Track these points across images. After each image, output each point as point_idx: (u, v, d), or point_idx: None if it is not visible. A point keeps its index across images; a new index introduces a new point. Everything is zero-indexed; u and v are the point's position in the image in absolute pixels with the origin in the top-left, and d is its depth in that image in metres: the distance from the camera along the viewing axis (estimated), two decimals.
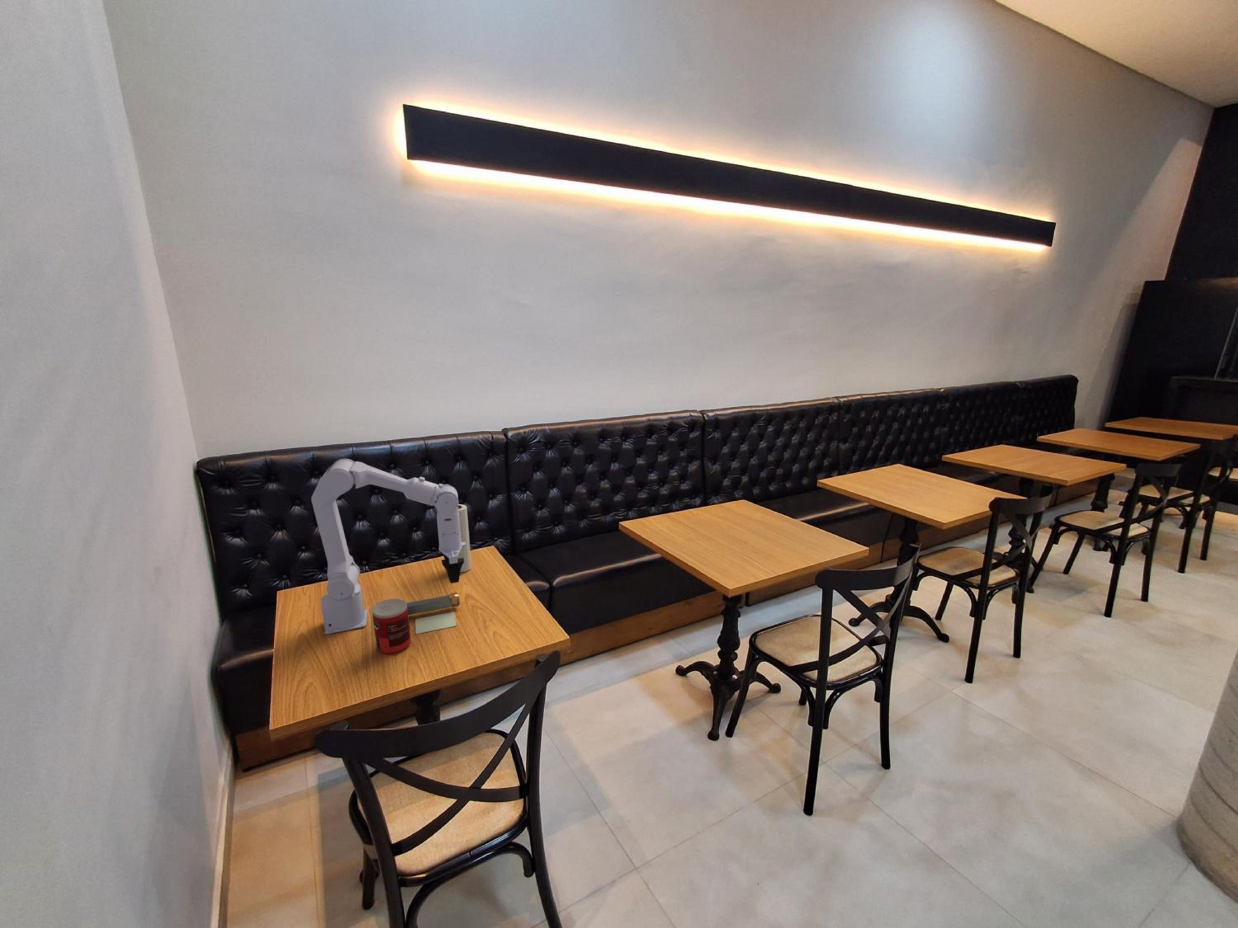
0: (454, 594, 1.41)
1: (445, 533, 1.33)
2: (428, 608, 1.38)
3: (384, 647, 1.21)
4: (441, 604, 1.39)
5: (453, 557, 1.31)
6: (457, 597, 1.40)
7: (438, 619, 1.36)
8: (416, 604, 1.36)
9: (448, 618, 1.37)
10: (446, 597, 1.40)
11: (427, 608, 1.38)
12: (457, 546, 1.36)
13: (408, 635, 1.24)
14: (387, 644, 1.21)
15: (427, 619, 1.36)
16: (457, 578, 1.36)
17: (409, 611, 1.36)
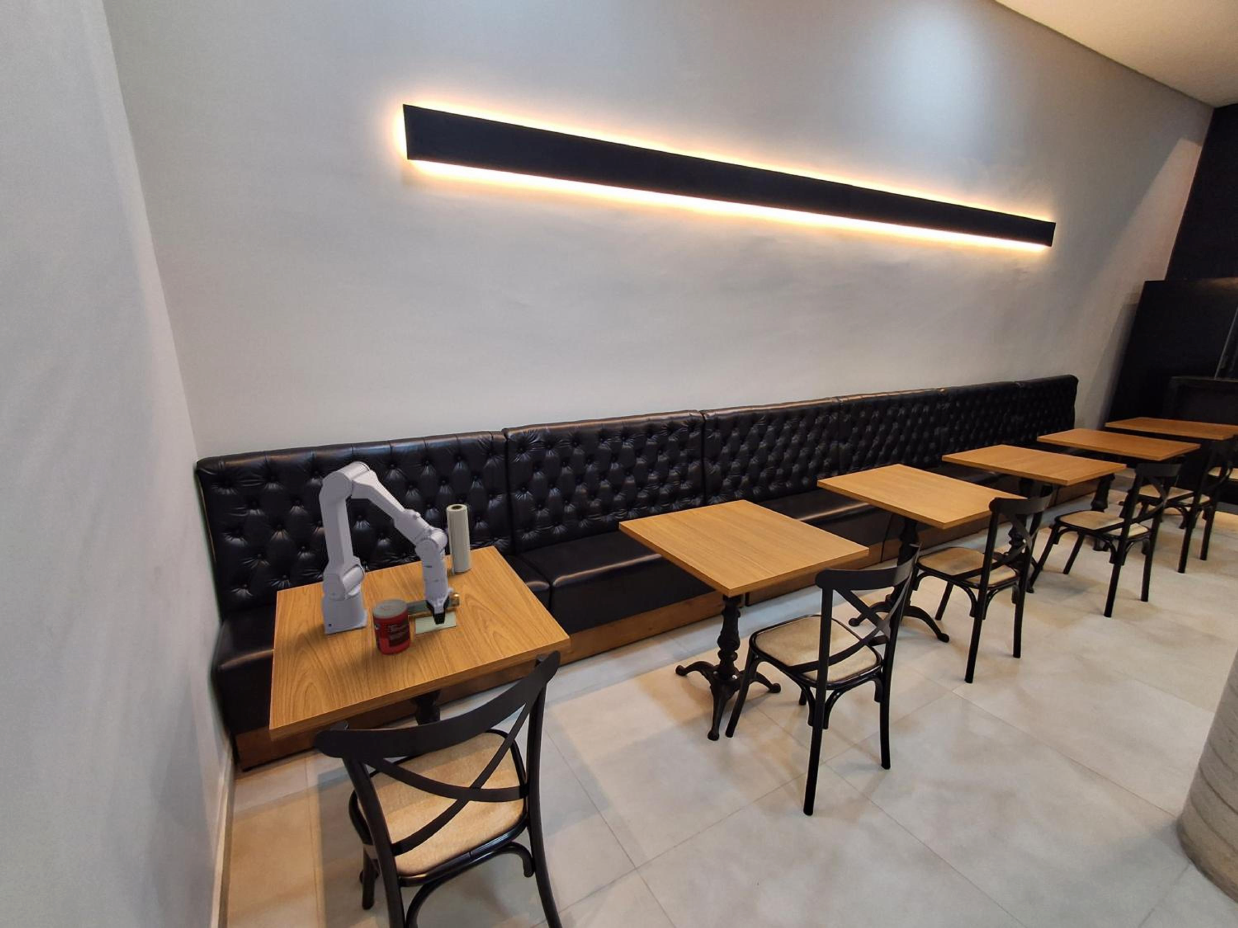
0: (454, 594, 1.41)
1: (426, 580, 1.26)
2: None
3: (384, 647, 1.21)
4: None
5: (438, 606, 1.24)
6: (457, 597, 1.40)
7: None
8: (416, 604, 1.36)
9: (448, 618, 1.37)
10: None
11: (427, 608, 1.38)
12: (443, 593, 1.28)
13: (408, 635, 1.24)
14: (387, 644, 1.21)
15: (427, 619, 1.36)
16: (442, 619, 1.32)
17: (409, 611, 1.36)
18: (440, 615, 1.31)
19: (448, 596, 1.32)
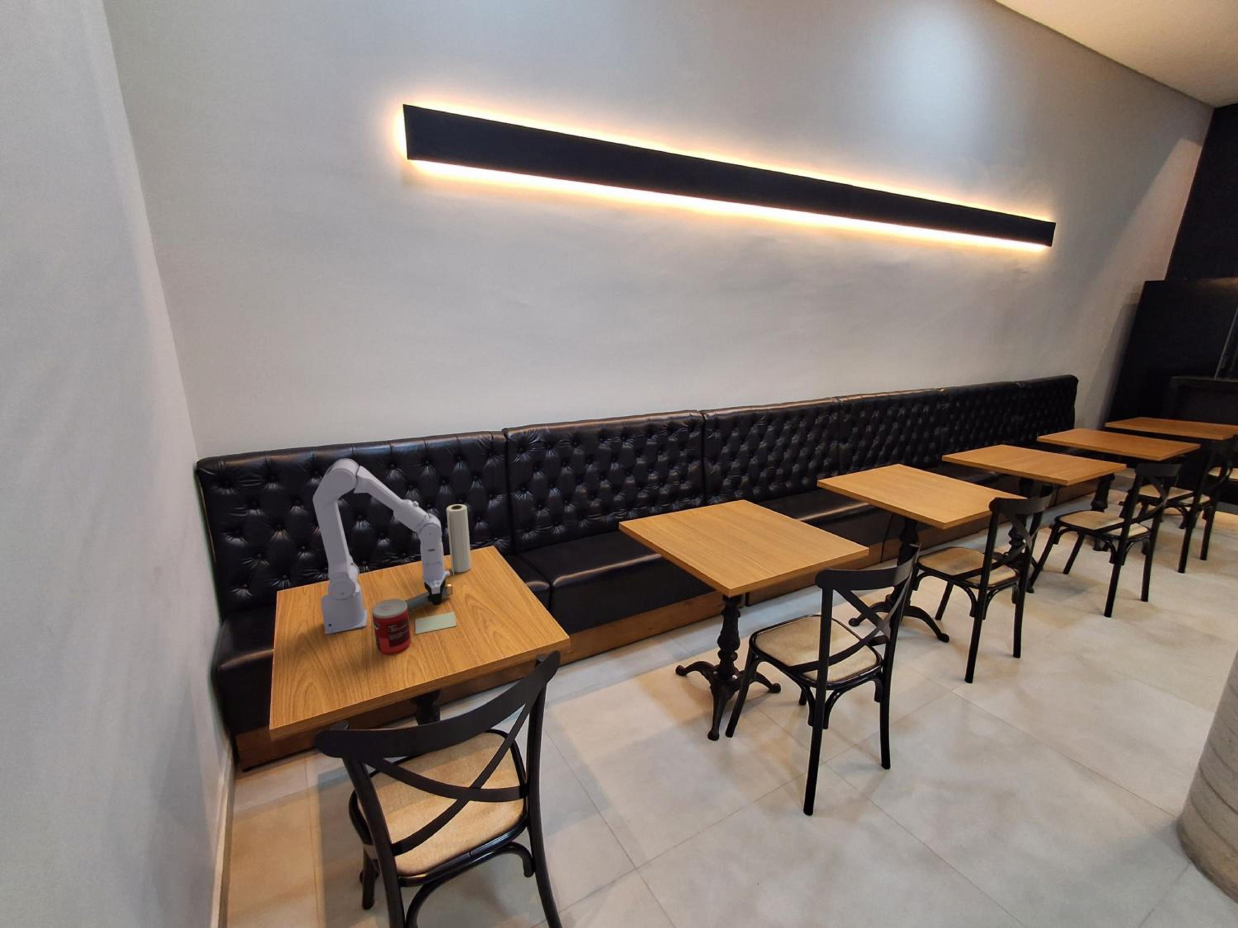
0: (447, 584, 1.46)
1: (429, 563, 1.35)
2: (426, 601, 1.41)
3: (384, 647, 1.21)
4: None
5: (435, 587, 1.33)
6: (451, 586, 1.46)
7: (438, 619, 1.36)
8: (415, 600, 1.39)
9: (448, 618, 1.37)
10: None
11: (425, 602, 1.41)
12: (440, 575, 1.38)
13: (408, 635, 1.24)
14: (387, 644, 1.21)
15: (427, 619, 1.36)
16: None
17: (409, 608, 1.37)
18: (437, 595, 1.41)
19: (445, 580, 1.40)
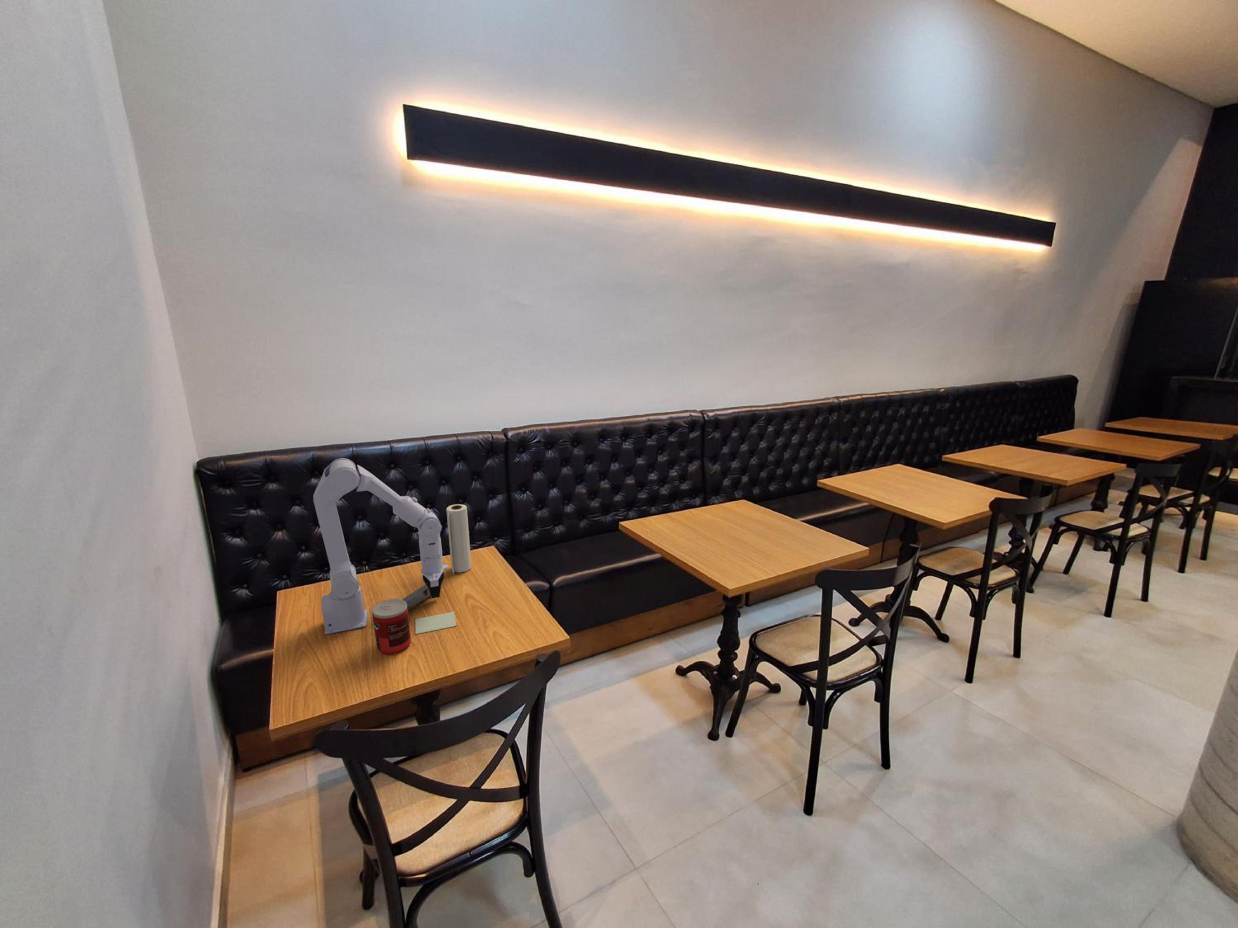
0: None
1: (429, 557, 1.39)
2: (421, 598, 1.43)
3: (384, 647, 1.21)
4: None
5: (434, 580, 1.36)
6: None
7: (438, 619, 1.36)
8: (411, 597, 1.40)
9: (448, 618, 1.37)
10: None
11: (420, 598, 1.42)
12: (439, 569, 1.41)
13: (408, 635, 1.24)
14: (387, 644, 1.21)
15: (427, 619, 1.36)
16: (438, 593, 1.45)
17: (408, 606, 1.38)
18: (436, 589, 1.44)
19: (443, 573, 1.44)
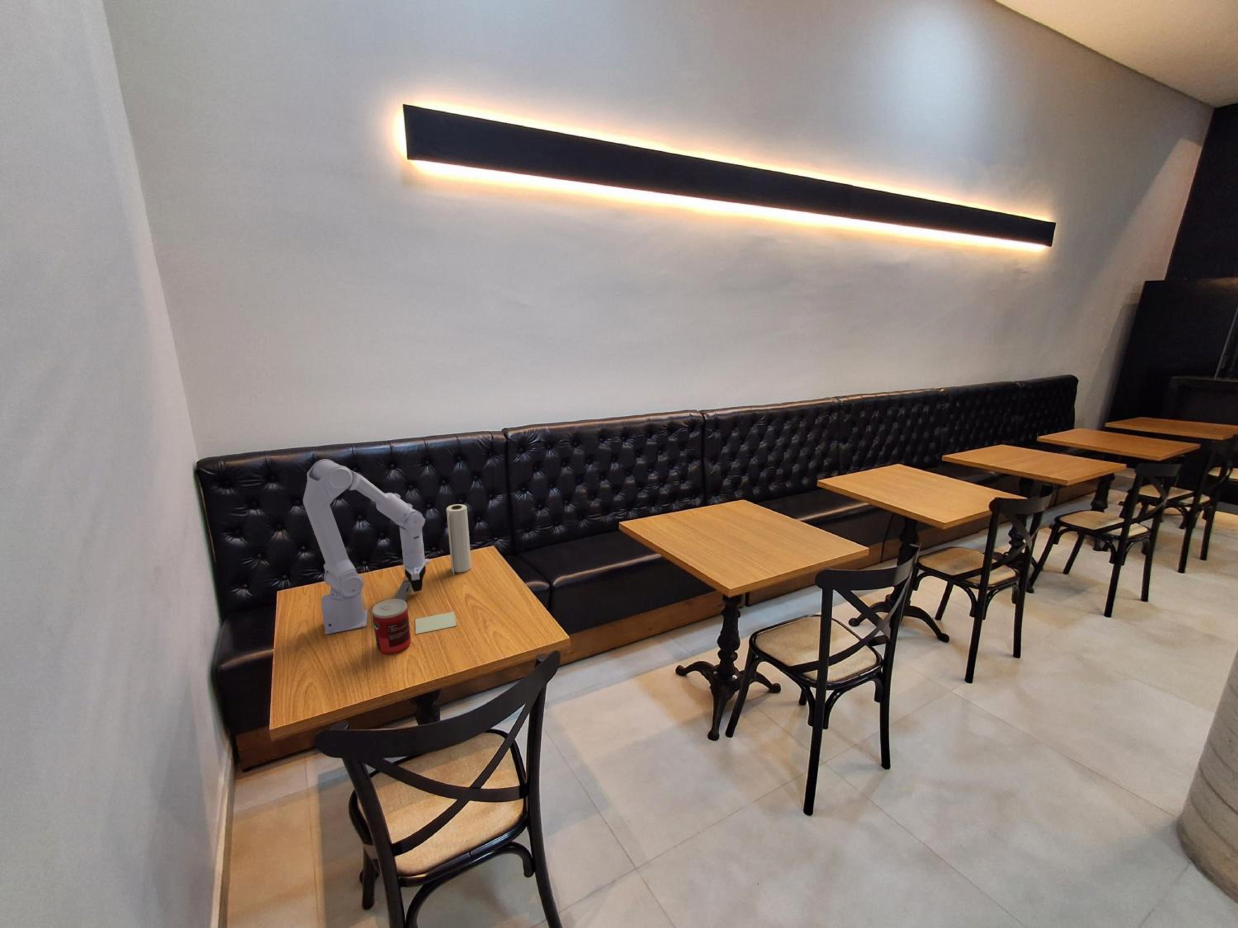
0: None
1: (414, 550, 1.42)
2: (406, 595, 1.44)
3: (384, 647, 1.21)
4: (409, 587, 1.47)
5: (415, 574, 1.40)
6: None
7: (438, 619, 1.36)
8: (401, 595, 1.41)
9: (448, 618, 1.37)
10: (406, 582, 1.48)
11: (406, 595, 1.44)
12: (420, 563, 1.44)
13: (408, 635, 1.24)
14: (387, 644, 1.21)
15: (427, 619, 1.36)
16: (420, 587, 1.48)
17: None
18: (417, 583, 1.47)
19: (425, 567, 1.48)
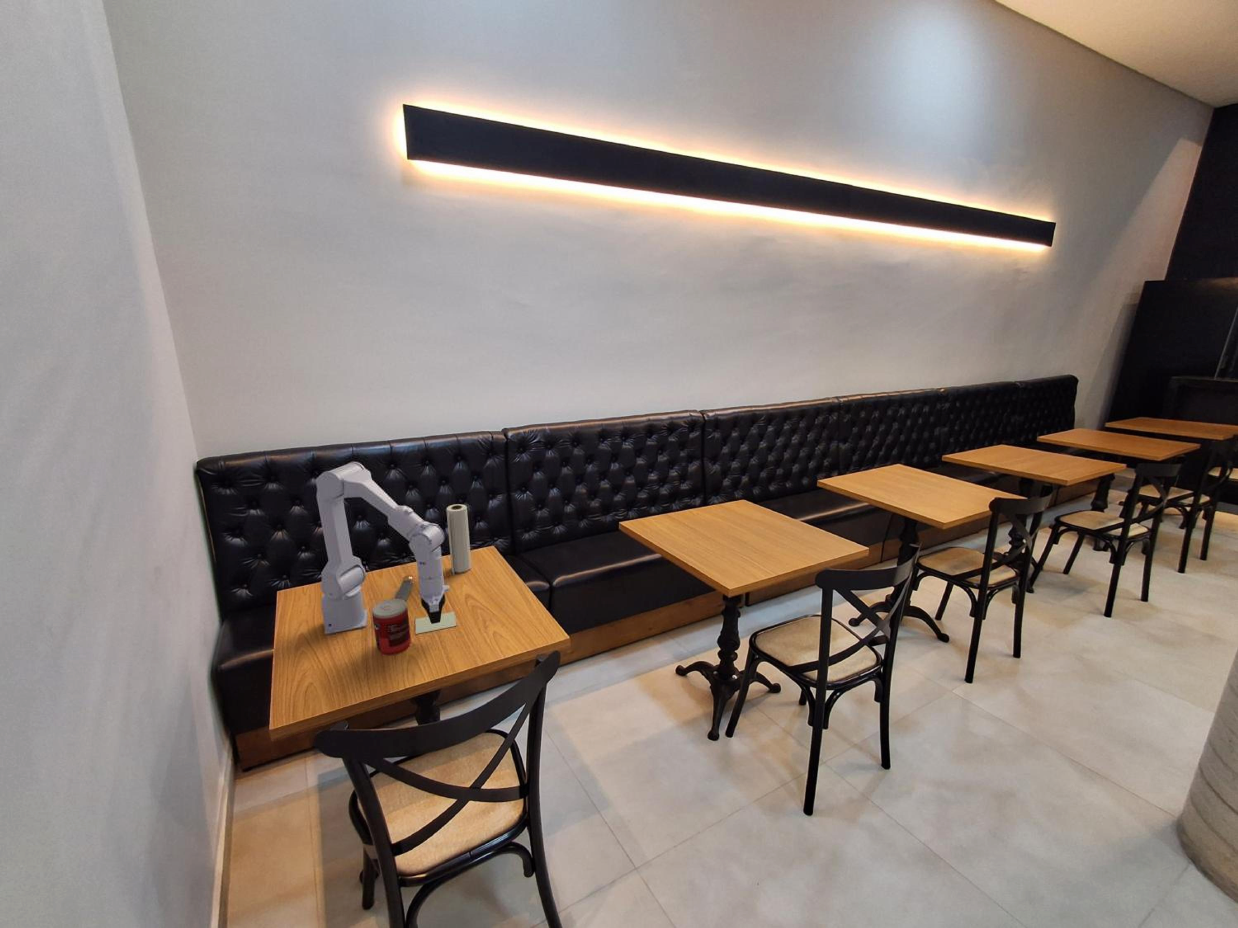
0: (407, 577, 1.50)
1: (420, 576, 1.22)
2: (406, 595, 1.44)
3: (384, 647, 1.21)
4: (409, 587, 1.47)
5: (434, 605, 1.19)
6: None
7: None
8: (401, 595, 1.41)
9: (448, 618, 1.37)
10: (406, 582, 1.48)
11: (406, 595, 1.44)
12: (439, 591, 1.24)
13: (408, 635, 1.24)
14: (387, 644, 1.21)
15: (427, 619, 1.36)
16: (438, 618, 1.27)
17: None
18: (436, 614, 1.27)
19: (444, 594, 1.27)
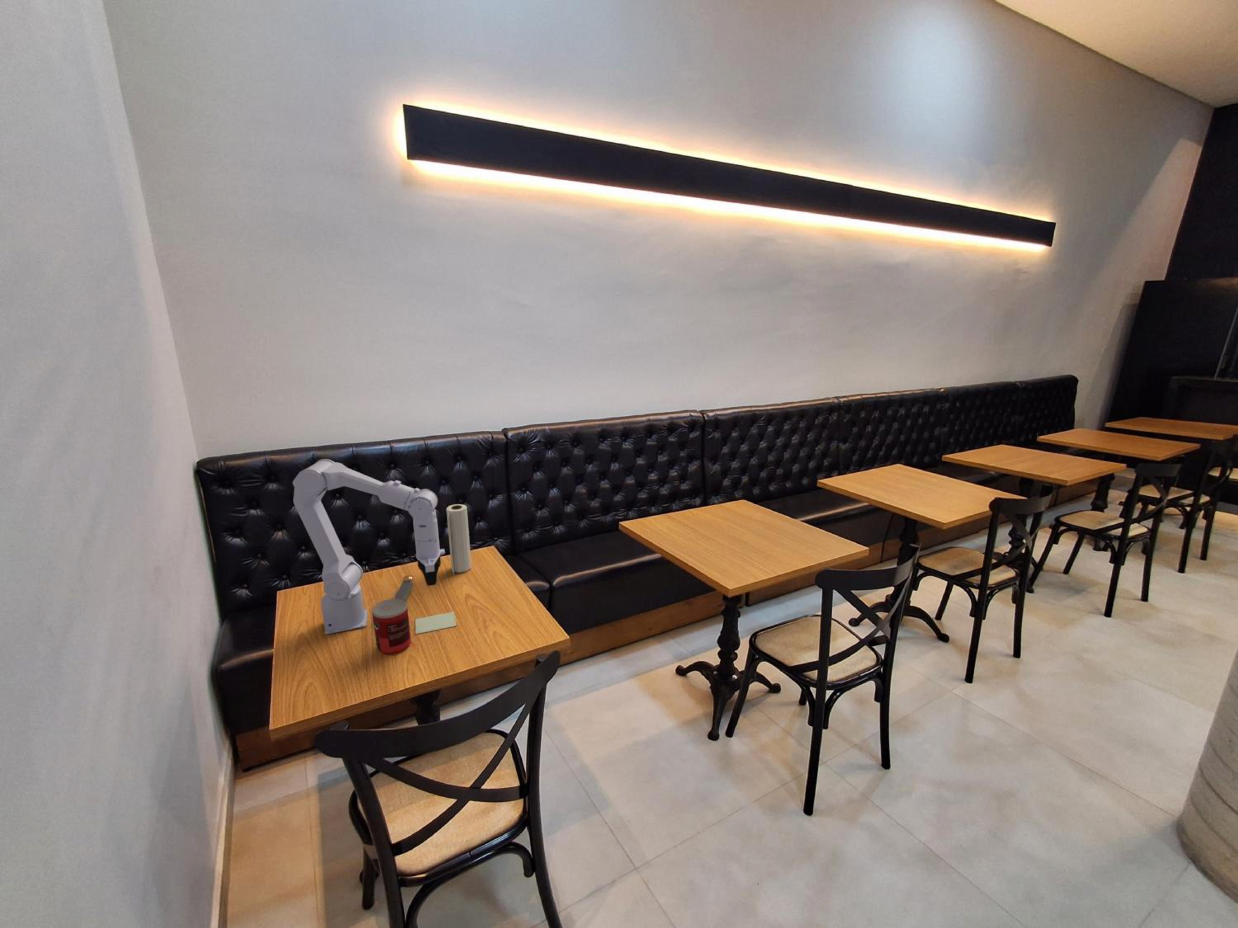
0: (407, 577, 1.50)
1: (420, 540, 1.27)
2: (406, 595, 1.44)
3: (384, 647, 1.21)
4: (409, 587, 1.47)
5: (429, 565, 1.25)
6: None
7: (438, 619, 1.36)
8: (401, 595, 1.41)
9: (448, 618, 1.37)
10: (406, 582, 1.48)
11: (406, 595, 1.44)
12: (435, 553, 1.30)
13: (408, 635, 1.24)
14: (387, 644, 1.21)
15: (427, 619, 1.36)
16: (434, 580, 1.33)
17: None
18: (432, 576, 1.33)
19: None
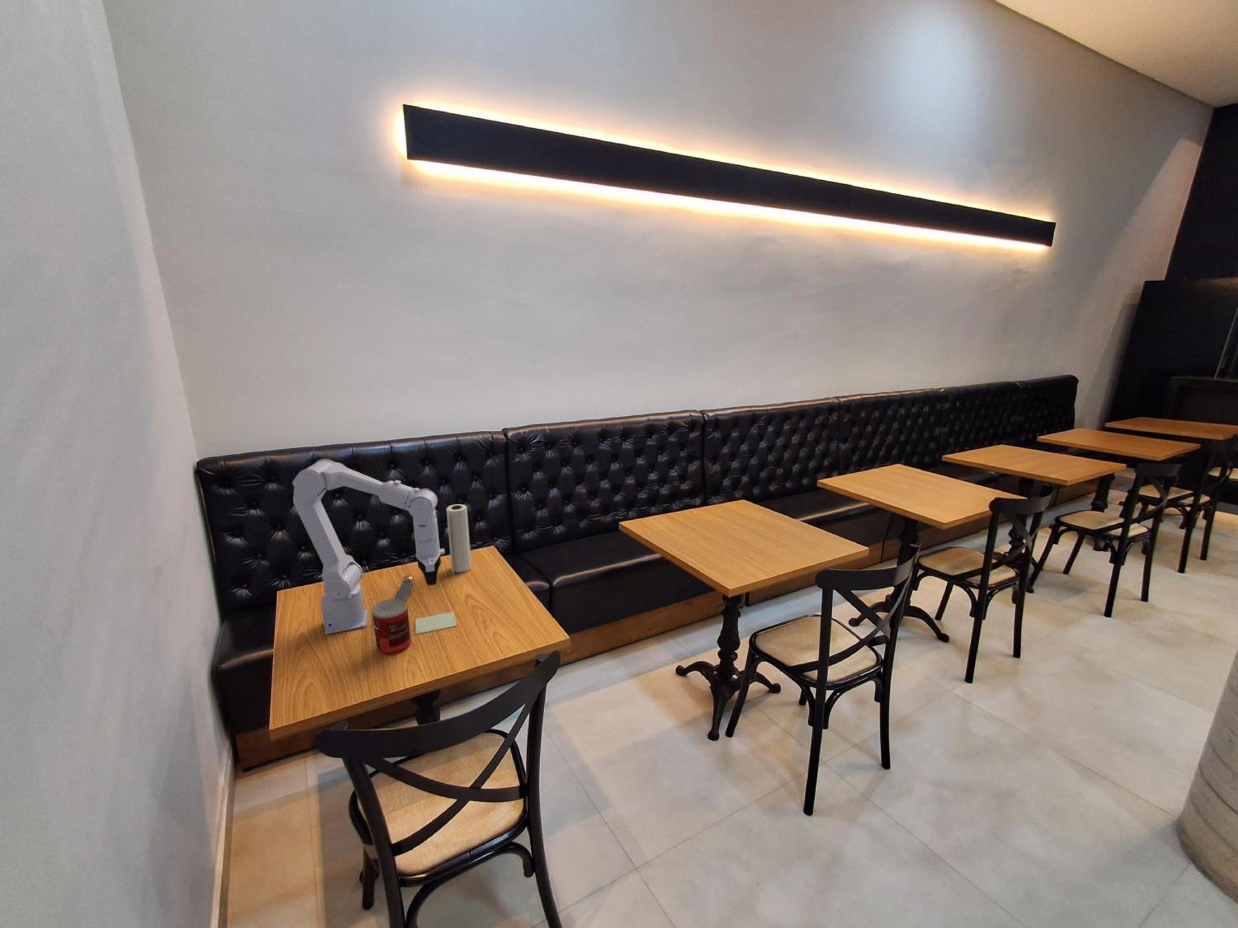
0: (407, 577, 1.50)
1: (420, 539, 1.28)
2: (406, 595, 1.44)
3: (384, 647, 1.21)
4: (409, 587, 1.47)
5: (430, 565, 1.25)
6: None
7: (438, 619, 1.36)
8: (401, 595, 1.41)
9: (448, 618, 1.37)
10: (406, 582, 1.48)
11: (406, 595, 1.44)
12: (435, 553, 1.30)
13: (408, 635, 1.24)
14: (387, 644, 1.21)
15: (427, 619, 1.36)
16: (434, 580, 1.33)
17: None
18: (432, 576, 1.33)
19: None
